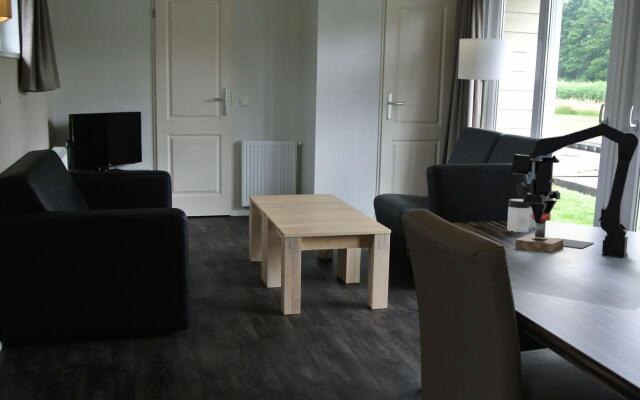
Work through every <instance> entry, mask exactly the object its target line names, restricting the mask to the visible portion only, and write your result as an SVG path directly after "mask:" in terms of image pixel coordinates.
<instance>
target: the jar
mask: <svg viewBox="0 0 640 400" xmlns="http://www.w3.org/2000/svg"><path fill="white" fill-rule="evenodd" d="M530 208H531V207H530V205H528V204H527V203H526V202H523V198H511V199H510V198H509V199H508V208H507V225H506V228H507V229H506V231H507V230H508V231H507V232H511V231H513V232H512V233H517V232H521V233H529V231H530V228H529V225H530Z"/></svg>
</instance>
